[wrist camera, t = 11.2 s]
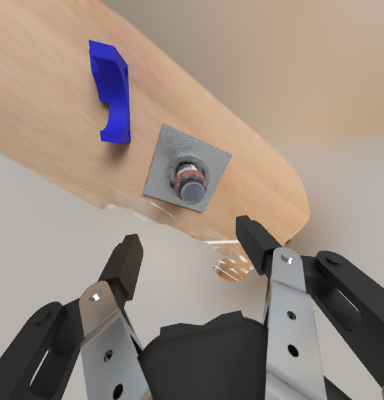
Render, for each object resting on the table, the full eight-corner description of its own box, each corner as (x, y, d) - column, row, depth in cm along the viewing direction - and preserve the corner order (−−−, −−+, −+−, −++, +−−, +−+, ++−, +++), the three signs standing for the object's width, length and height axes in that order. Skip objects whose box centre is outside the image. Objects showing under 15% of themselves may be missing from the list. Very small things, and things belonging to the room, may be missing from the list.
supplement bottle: (201, 184, 33) (213, 207, 23) (177, 189, 33) (178, 214, 23) (198, 159, 30) (209, 173, 20) (171, 164, 30) (170, 180, 20)
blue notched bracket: (99, 59, 23) (75, 36, 17) (128, 66, 23) (114, 46, 18) (107, 138, 28) (91, 139, 22) (130, 141, 28) (120, 143, 23)
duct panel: (143, 192, 33) (140, 199, 30) (163, 123, 27) (162, 122, 24) (202, 211, 37) (205, 218, 34) (231, 154, 32) (237, 157, 28)
